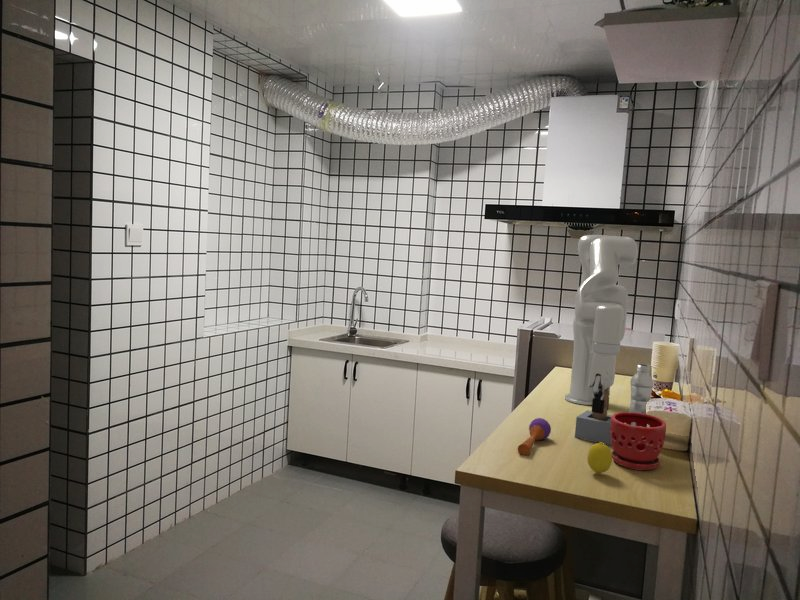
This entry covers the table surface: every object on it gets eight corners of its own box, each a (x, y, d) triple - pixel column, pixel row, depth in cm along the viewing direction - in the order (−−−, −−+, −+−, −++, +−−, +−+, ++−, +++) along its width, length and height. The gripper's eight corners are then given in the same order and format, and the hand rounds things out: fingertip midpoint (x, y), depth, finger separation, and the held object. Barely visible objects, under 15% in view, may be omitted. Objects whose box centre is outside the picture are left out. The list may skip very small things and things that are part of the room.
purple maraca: (511, 438, 157) (530, 415, 175) (514, 461, 158) (533, 435, 176) (533, 439, 155) (551, 415, 172) (536, 461, 155) (554, 435, 173)
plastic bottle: (651, 433, 183) (657, 368, 181) (627, 430, 184) (634, 366, 183) (647, 427, 189) (653, 364, 188) (624, 424, 191) (630, 362, 189)
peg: (593, 425, 179) (597, 378, 177) (607, 428, 176) (611, 381, 175) (589, 428, 175) (593, 380, 174) (603, 431, 173) (607, 383, 172)
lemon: (613, 475, 146) (617, 442, 146) (604, 480, 142) (607, 447, 142) (592, 468, 150) (595, 436, 149) (582, 473, 146) (585, 441, 145)
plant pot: (603, 452, 163) (607, 409, 161) (654, 458, 160) (659, 414, 159) (611, 470, 150) (616, 422, 149) (667, 477, 148) (672, 429, 146)
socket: (585, 429, 183) (587, 410, 182) (619, 437, 177) (621, 417, 177) (574, 437, 175) (576, 416, 174) (610, 445, 169) (612, 424, 169)
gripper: (601, 343, 183) (595, 403, 184) (583, 349, 169) (577, 414, 170) (626, 347, 178) (620, 408, 180) (611, 354, 165) (604, 419, 166)
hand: (599, 410), depth 175 cm, fingers closed on peg, 4 cm apart
